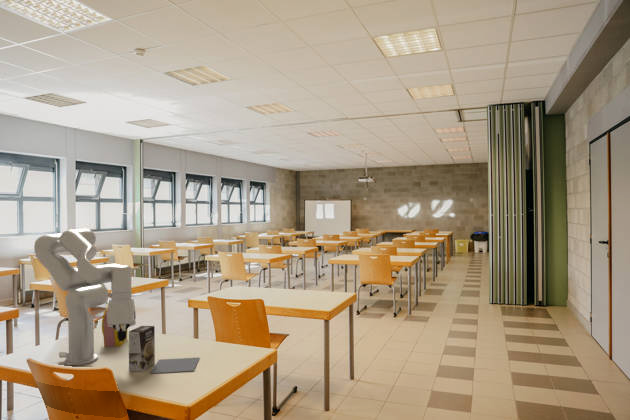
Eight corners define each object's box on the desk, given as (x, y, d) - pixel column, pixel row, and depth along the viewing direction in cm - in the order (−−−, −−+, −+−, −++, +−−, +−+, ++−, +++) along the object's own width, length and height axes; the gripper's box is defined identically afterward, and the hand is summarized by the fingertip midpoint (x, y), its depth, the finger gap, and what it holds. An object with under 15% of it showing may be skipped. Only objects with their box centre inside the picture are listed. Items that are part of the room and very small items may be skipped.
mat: (149, 374, 166) (149, 373, 166) (158, 360, 180) (158, 359, 180) (193, 371, 168) (193, 370, 168) (199, 358, 183) (199, 357, 183)
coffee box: (142, 372, 168) (142, 331, 168) (128, 371, 169) (127, 331, 169) (155, 363, 177) (155, 325, 177) (142, 362, 178) (141, 325, 178)
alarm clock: (110, 338, 212) (110, 302, 212) (128, 337, 214) (127, 301, 214) (101, 348, 198) (100, 309, 198) (119, 346, 199) (119, 308, 199)
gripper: (98, 298, 167) (99, 344, 167) (137, 296, 169) (138, 342, 169) (105, 294, 175) (106, 338, 175) (143, 293, 176) (143, 336, 176)
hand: (122, 340), depth 172 cm, fingers closed
